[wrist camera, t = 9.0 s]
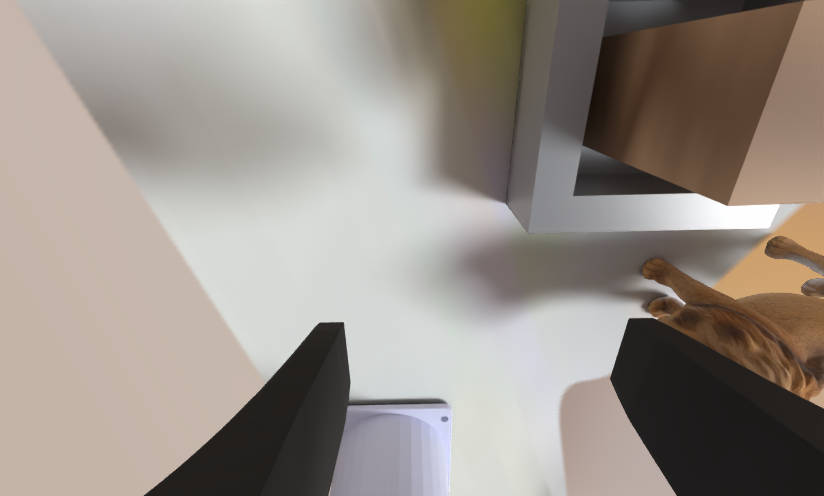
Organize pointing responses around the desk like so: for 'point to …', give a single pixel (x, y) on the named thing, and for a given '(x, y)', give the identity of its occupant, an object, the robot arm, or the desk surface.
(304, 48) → the desk surface
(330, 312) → the desk surface
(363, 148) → the desk surface
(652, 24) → the square well
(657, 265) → the lion figurine
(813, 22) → the walnut block
